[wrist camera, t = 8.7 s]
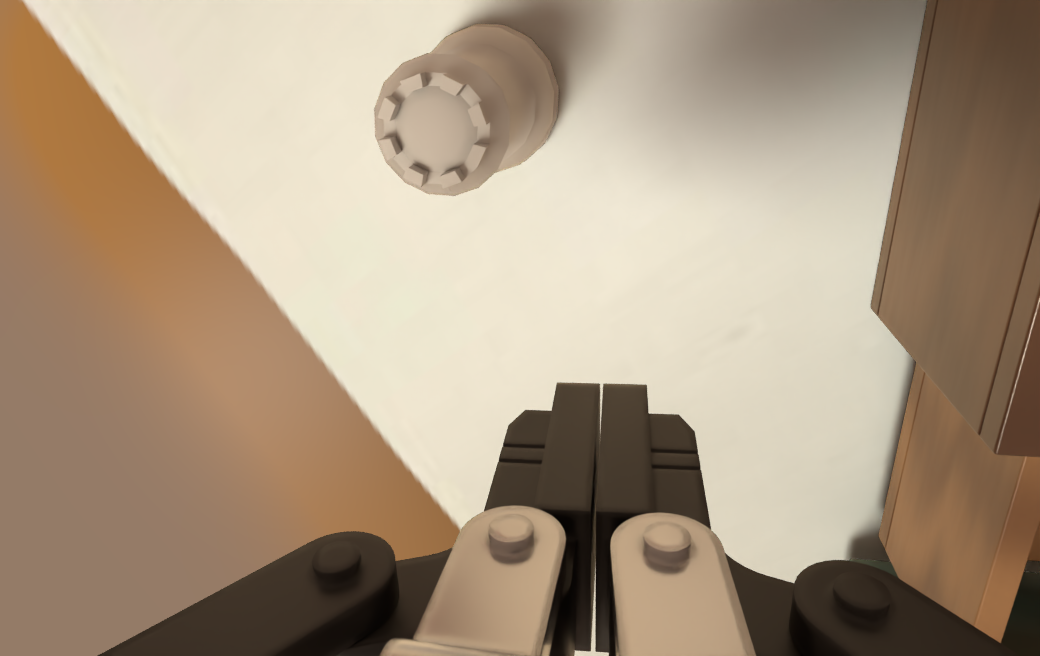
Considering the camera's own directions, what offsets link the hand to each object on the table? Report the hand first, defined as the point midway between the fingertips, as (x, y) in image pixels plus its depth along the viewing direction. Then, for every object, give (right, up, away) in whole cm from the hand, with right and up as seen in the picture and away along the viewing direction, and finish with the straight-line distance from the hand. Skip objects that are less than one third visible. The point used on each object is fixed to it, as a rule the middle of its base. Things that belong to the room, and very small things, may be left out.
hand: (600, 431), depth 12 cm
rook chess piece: (-2, +9, +11) cm, 15 cm away
